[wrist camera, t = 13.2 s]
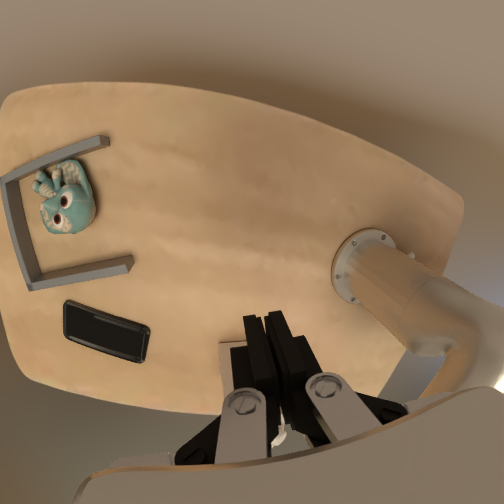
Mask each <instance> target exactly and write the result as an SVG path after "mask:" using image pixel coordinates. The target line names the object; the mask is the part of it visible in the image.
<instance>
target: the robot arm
mask: <svg viewBox="0 0 504 504" xmlns="http://www.w3.org/2000/svg"><path fill="white" fill-rule="evenodd" d="M414 259H415V254H414V252H408V253H406V254H405V253H403V252H401V251H400V250H398V249H397V247H396V244H395V242H394V241H393V239H392V238H391V237H390V236H389V235H388V234H387V233H385V232H383V231H381V230H377V229H365V230H361V231H359V232H357V233H355V234H354V235H352V236H350V237H349V238H348V239H347V240H346V241H345V242H344V243H343V245H342V246H341V247H340V249H339V250H338V252H337V254H336V256H335V259H334V261H333V265H332V273H331V278H332V284H333V286H334V289H335V291H336V292H337V294H338V295H339V296H340V297H341V298H342V299H344V300H345V301H347V302H349V303H352V304H362V305H363V306H364V307H366V308H367V309H368V310H369V311H370V312H371V313H372V314H373V315H374V316H375V317H376V318H377V319H378V320H379V321H380V322H381V323H382V324H383V325H384V326H385V327H386V328H387V329H388V330H389V331H390V332H391V333H392V334H393V335H394V336H395V337H396V338H397V339H398V340H399V341H400V342H401V343H402V344H403V345H404V346H405V347H406V348H407V349H408V350H409V351H410V352H412V353H414V354H416V355H418V356H423V357H434V356H441V355H446V358H445V361H444V363H443V365H442V366H441V368H440V369H439V371H438V373H437V375H436V376H435V377H434V379H433V380H432V382H431V383H430V384H429V385H428V387H427V388H426V389H425V391H424V392H423V393H422V395H421V396H420V397H419V398H418V399H416V400H411V401H407V402H405V405H401V404H398V403H396V402H392V401H388V400H383V399H380V398H376V397H372V396H369V395H365V394H361V393H358V392H354V391H353V390H352V388H351V387H350V386H349V385H348V384H347V382H346V381H345V380H344V379H343V378H342V377H341V376H339V375H337V374H335V373H330V372H322V370H321V368H320V366H319V364H318V362H317V360H316V358H315V356H314V354H313V352H312V350H311V348H310V346H309V344H308V342H307V340H306V338H305V336H304V335H302V336H297V337H293V336H292V334H291V332H290V329H289V327H288V325H287V322H286V320H285V318H284V315H283V313H282V311H281V310H279V311H273V312H269V313H268V315H269V316H264V320H265V330H266V334H265V330H264V327H263V323H262V320H261V317H257V318H256V315H248V316H243V321H244V328H245V334H246V341H247V345H246V346H239V347H232V348H230V356H231V366H232V377H233V387H234V391H232V392H231V393H229V394H228V395H227V396H226V397H225V399H224V402H223V407H222V414H221V415H220V416H219V417H217V418H216V419H215V420H214V421H213V422H212V423H210V424H209V425H208V426H207V427H206V428H204V429H203V430H202V431H201V432H200V433H198V434H197V435H196V436H195V437H193V438H192V439H191V440H190V441H188V442H187V443H186V444H185V445H183V446H182V447H181V448H180V449H179V450H178V451H177V452H175V453H170V454H169V452H163V453H156V454H150V455H143V456H135V457H127V458H120V459H117V460H115V461H114V462H112V464H111V465H110V466H109V469H107V470H103V471H99V472H96V473H94V474H91V475H90V476H88V477H86V478H85V479H84V480H83V481H82V482H81V484H80V485H79V487H78V489H77V491H76V494H75V496H74V499H73V502H72V504H504V308H503V307H501V306H499V305H496V304H494V303H491V302H489V301H487V300H485V299H483V298H481V297H479V296H477V295H474V294H473V293H471V292H469V291H468V290H466V289H464V288H462V287H460V286H459V285H457V284H455V283H454V282H452V281H450V280H449V279H447V278H445V277H443V276H442V275H440V274H438V273H437V272H435V271H433V270H431V269H430V268H428V267H426V266H425V265H423V264H421V263H419V262H418V261H416V260H414ZM280 407H281V410H280ZM281 411H282V414H283V418H284V422H285V424H290V425H291V428H292V430H296V431H298V432H300V433H303V434H304V438H305V440H306V442H307V444H308V446H309V447H310V449H308V450H304V451H299V452H295V453H291V454H285V455H281V456H275V457H272V445H271V443H272V441H273V440H274V439H275V438H276V437H277V436H278V435H279V427H278V426H281Z"/></svg>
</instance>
